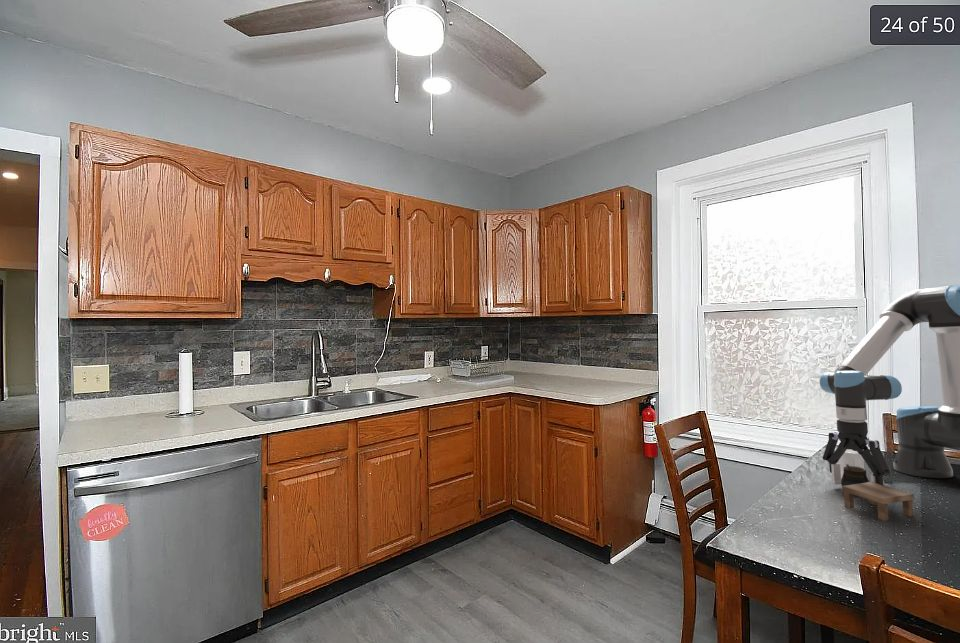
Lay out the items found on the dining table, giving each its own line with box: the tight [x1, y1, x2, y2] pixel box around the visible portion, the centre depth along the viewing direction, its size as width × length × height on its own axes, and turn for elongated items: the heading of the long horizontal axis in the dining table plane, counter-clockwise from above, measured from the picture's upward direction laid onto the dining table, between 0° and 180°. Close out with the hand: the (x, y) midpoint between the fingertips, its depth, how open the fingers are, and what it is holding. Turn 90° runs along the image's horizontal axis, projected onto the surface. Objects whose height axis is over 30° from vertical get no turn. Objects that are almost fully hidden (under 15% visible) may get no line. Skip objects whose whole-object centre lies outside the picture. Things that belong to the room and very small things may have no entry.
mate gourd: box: [840, 464, 870, 497], centre depth 142 cm, size 7×8×10 cm
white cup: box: [834, 447, 865, 479], centre depth 156 cm, size 8×8×10 cm
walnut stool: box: [841, 481, 915, 522], centre depth 129 cm, size 11×11×6 cm
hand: (856, 490), depth 142 cm, fingers open, 11 cm apart
